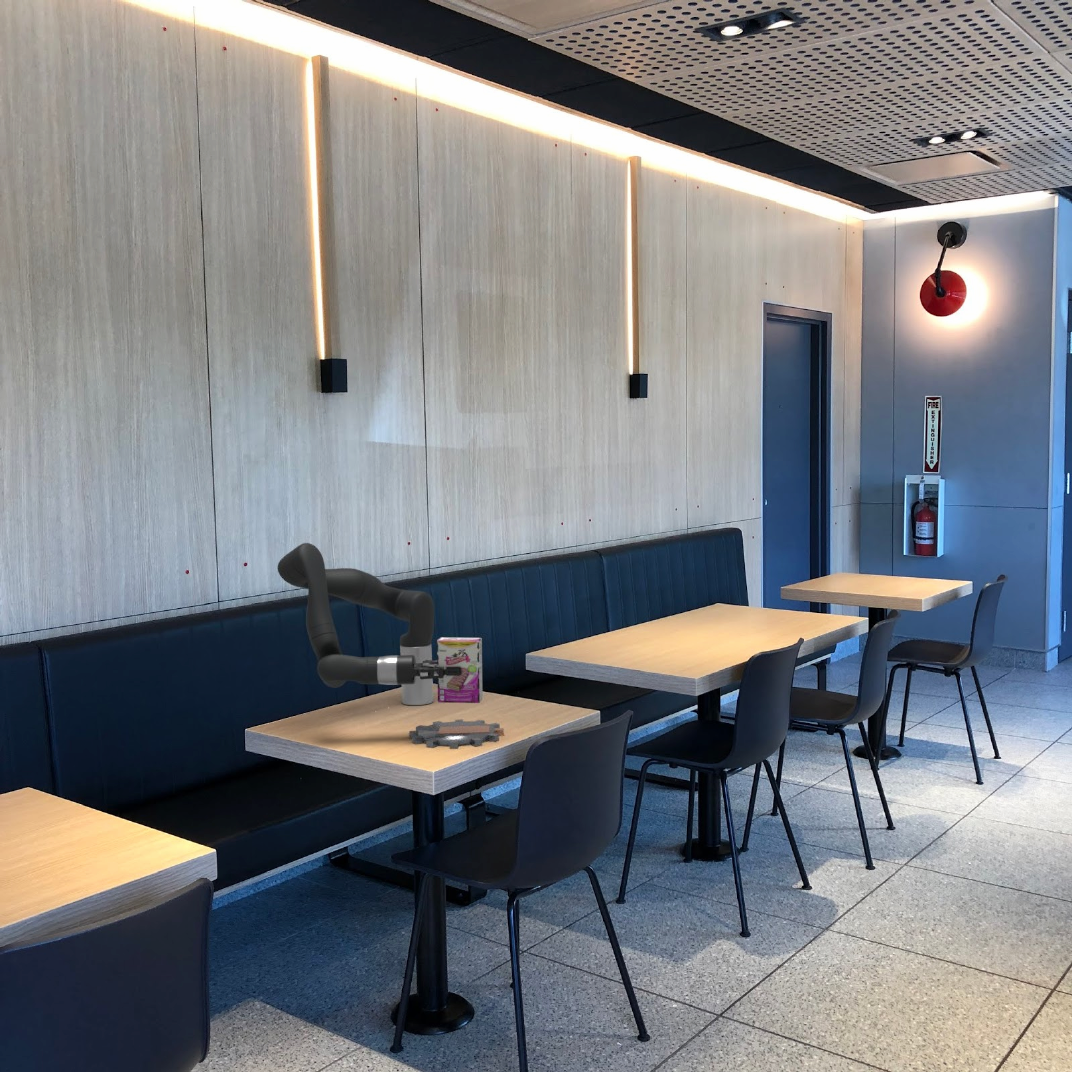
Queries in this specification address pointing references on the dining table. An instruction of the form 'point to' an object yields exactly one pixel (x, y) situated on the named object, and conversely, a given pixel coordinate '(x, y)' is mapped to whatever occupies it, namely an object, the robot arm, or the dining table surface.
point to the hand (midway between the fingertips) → (461, 668)
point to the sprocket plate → (456, 733)
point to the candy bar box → (470, 660)
